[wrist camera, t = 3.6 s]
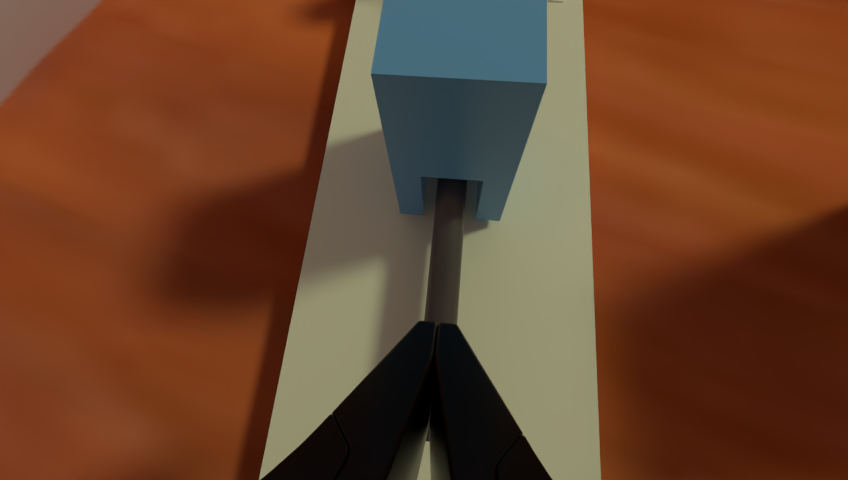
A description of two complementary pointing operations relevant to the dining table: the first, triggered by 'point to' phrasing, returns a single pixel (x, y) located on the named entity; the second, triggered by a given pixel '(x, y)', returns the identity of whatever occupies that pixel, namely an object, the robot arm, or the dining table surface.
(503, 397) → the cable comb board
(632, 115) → the dining table surface
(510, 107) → the blue block
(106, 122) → the dining table surface
